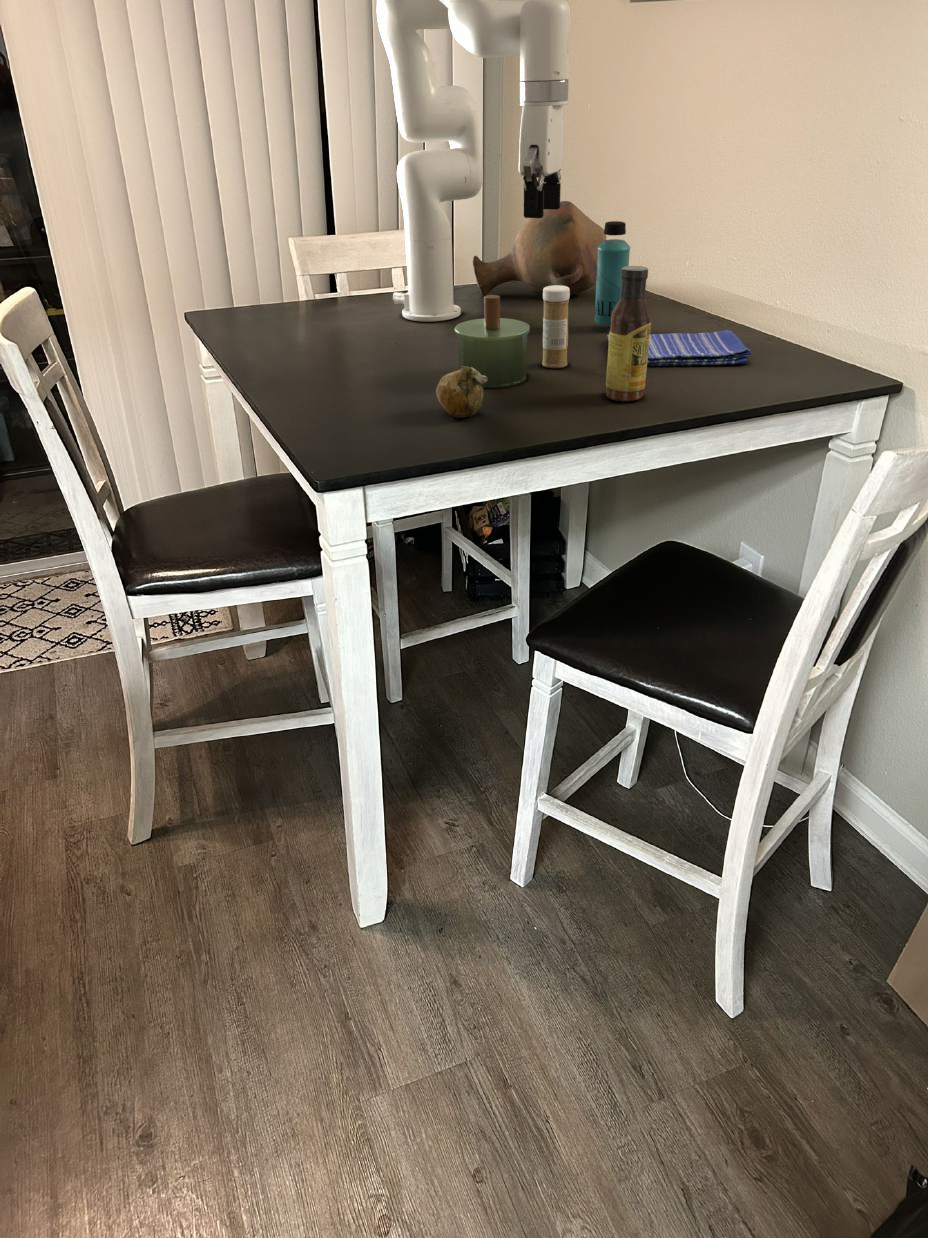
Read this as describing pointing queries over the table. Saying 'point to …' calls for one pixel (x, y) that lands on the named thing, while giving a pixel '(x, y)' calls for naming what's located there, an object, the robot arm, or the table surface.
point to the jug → (548, 253)
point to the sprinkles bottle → (555, 326)
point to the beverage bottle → (610, 272)
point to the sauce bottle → (629, 338)
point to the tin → (495, 360)
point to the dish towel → (696, 349)
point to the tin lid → (492, 324)
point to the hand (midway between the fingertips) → (542, 213)
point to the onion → (461, 392)
